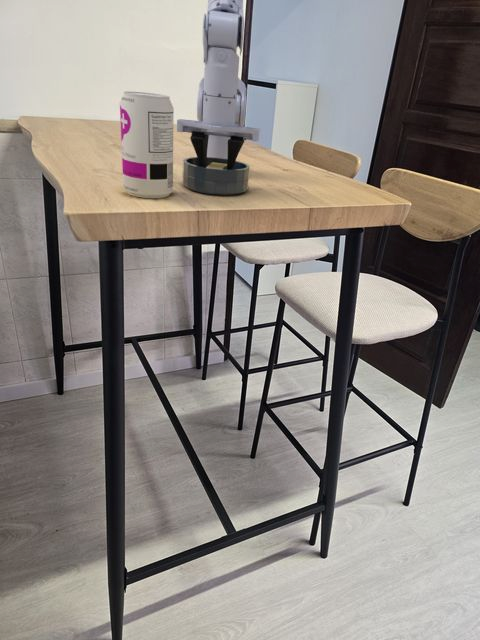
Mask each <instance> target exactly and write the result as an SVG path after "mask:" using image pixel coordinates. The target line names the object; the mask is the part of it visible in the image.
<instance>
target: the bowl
mask: <svg viewBox="0 0 480 640" xmlns="http://www.w3.org/2000/svg"><path fill="white" fill-rule="evenodd" d="M212 162H215V163H223V164H227V159H224V158H215V157H207V166H208V165H210V164H211V163H212ZM250 171H251V166H250V165H249V164H248V163H247V162H246V163H245V162H243V161H239V160H236V161H235V164H234V167H233V170H225V169H213V168H205V167H200V166H199V162H198V158H197V156H192V157H191V156H190V157H185V158H183V159H182V180H181V181H182V185H183V186H184V187H186V188H187V189H189V190H191V191H192V192H193V191H194V192H196V193H201V194H206V195H213V196H236V195H239V194H243V193H245V192H247V191H248V189H249V184H250V173H251V172H250Z"/></svg>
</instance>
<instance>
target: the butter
mask: <svg viewBox="0 0 480 640" xmlns="http://www.w3.org/2000/svg"><path fill="white" fill-rule="evenodd" d="M206 168H213V169H225V170H226V169H227V164H223V163H215V162H212V163H211V164H210V165H208V166H207V167H206Z"/></svg>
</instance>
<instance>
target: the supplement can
mask: <svg viewBox="0 0 480 640" xmlns="http://www.w3.org/2000/svg"><path fill="white" fill-rule="evenodd" d="M170 98H171V97H170V96H169V95H166V94H160V93H153V92H152V93H151V92H145V91H144V92H143V91H130V90H129V91H128V90H127V91H123V95H122V97H121V99H120V102H119V115H120V116H119V117H120V118H119V119H120V120H119V121H120V139H121V140H120V141H121V143H120V144H121V158H122V159H121V164H122V165H121V166H122V167H121V168H122V187H123V189H124V190H125V191H126V193H127V194H128V195H130V196H133V197H136V198H137V197H138V198H143V199H162V198H163V199H164V198H167V197H168V196H169V197H170V194H171V193H173V192H174V106H173V103H172V102H171V99H170Z"/></svg>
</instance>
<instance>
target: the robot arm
mask: <svg viewBox="0 0 480 640" xmlns="http://www.w3.org/2000/svg"><path fill="white" fill-rule="evenodd" d="M244 33H245V17H244V0H208V2H207V12H206V13H203V18H202V48H203V49H202V50H203V63H204V68H203V69H204V70H203V72H204V73H203V78H201V79H200V81H199V83H198V92H197V100H196V101H197V102H196V119H197V120H195V119H194V120H193V119H183V118H179V119H176V132H178V133H191V135H190V142H191V144H192V147H193V149H194V152H195V155H196V157H197V158H198V162H199V166H200V167H205V168H206V167H207V157H215V158H224V159H227V169H226V170H233V167H234V164H235V161H237V158H238V156H239V154H240V151H241V149H242V147H243V145H244V143H245V140H247V141H252V142H259V140H260V130H261V129H260V128H256V127H249V126H245V124H246V114H247V113H246V112H247V111H246V110H247V99H248V97H247V87H246V84H245V83H244V81H243V80H241V79H240V78H239V69H240V56H242V53H243V46H244V45H243V44H244V35H245V34H244ZM237 49H239V55H238V53H237Z"/></svg>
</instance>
